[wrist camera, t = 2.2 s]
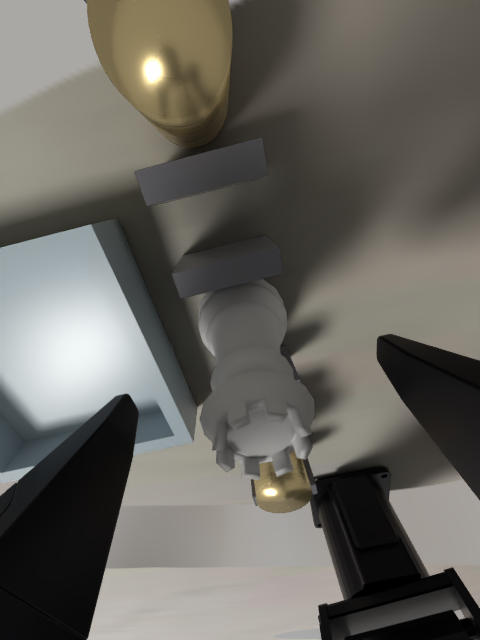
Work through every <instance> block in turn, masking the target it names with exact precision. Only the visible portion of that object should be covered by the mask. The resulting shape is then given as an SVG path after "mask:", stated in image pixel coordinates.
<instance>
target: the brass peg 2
mask: <svg viewBox="0 0 480 640" xmlns="http://www.w3.org/2000/svg"><path fill="white" fill-rule="evenodd" d="M290 458H291V462H292V466H293V471H290V472H288V473H286V474H283V475H281V476H279V477H277V475H276V473H275V471H274V466H273V461H272V462H266V463H259V467H260V480H255V479H254V483H255V492H256V501H257V504H258V506H259V507H260V508H262V509H263V510H265V511H268V512H272V513H287V512H292V511H295V510H297V509H300V508H302V507H303V506H305V505H306V504H307V503H308V502H309V501H310V500H311V498H312V489H311V485H310V482H309V479H308V476H307V472H306V469H305V466H304V462H303V459H301V458H297V457H296V453H295V450H294V451H293V452H292V453H291V454H290Z"/></svg>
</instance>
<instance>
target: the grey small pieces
mask: <svg viewBox="0 0 480 640" xmlns="http://www.w3.org/2000/svg"><path fill="white" fill-rule="evenodd" d="M84 1H85V2H86V3H87V0H84ZM134 172H135V175H136V178H137V181H138V183H139V186H140V189H141V192H142V194H143V197H144V200H145V203H146V205H147V206H151V205H156V204H161V203H166V202H170V201H174V200H178V199H182V198H186V197H190V196H193V195H197V194H201V193H205V192H209V191H213V190H217V189H221V188H224V187H228V186H232V185H236V184H240V183H244V182H248V181H251V180H255V179H258V178H261V177H264V176H266V175H268V170H267V164H266V157H265V151H264V144H263V138H262V137H261V138H257V139H253V140H250V141H246V142H242V143H238V144H234V145H231V146H227V147H223V148H219V149H216V150H212V151H208V152H204V153H201V154H197V155H193V156H189V157H186V158H182V159H178V160H174V161H171V162H167V163H163V164H159V165H155V166H152V167H148V168H144V169H140V170H137V171H134ZM281 274H283V267H282V261H281V254H280V248H279V246H278V245H276V244H275V243H274V242H273V241H272V240H271V239H270V238H269V237H268V236H267V235H263V236H259V237H255V238H251V239H247V240H243V241H239V242H235V243H231V244H227V245H223V246H219V247H215V248H211V249H207V250H203V251H199V252H195V253H191V254H187V255H183V256H182V257H181V259H180V261H179V262H178V264H177V266H176V267H175V269H174V270H173V272H172V277H173V280H174V282H175V285H176V288H177V291H178V293H179V296H180V299H181V298H185V297H189V296H194V295H198V294H202V293H206V292H210V291H214V290H218V289H223V288H227V287H231V286H235V285H239V284H243V283H248V282H252V281H256V280H260V279H264V278H268V277H273V276H277V275H281ZM280 353H281V355H282V356H283V357H285V358H286V359H287V361H288V362H289V364H290V365H291V367H292V368H293V376H294V379H295V380H296V381H298V382H300V379H299V376H298V374H297V372H296V369H295V367H294V364H293V362H292V360H291V357H290V355H289V352H288V350H287V348H286V345H284V346H280ZM303 462H304V466H305V469H306V472H307V476H308V479H309V482H310V485H311V489H312V495H313V494H317V488H316V483H315V480H314V477H313V474H312V470H311V467H310V464H309V461H308V458H307V459H306V460H305V459H303ZM251 486H252V495H253V500H254V502H255V505H256V506H258V504H257V501H256V492H255V483H254V479H251Z"/></svg>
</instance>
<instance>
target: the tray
mask: <svg viewBox="0 0 480 640" xmlns="http://www.w3.org/2000/svg"><path fill="white" fill-rule="evenodd" d="M126 393H127V394H129V395H130V396H131V398H132V400H133V401H134V403H135V405H136V407H137V408H138V411H139V418H138V425H137V432H136V439H135V446H134V453H133V455H136V454H141V453H146V452H150V451H155V450H160V449H164V448H169V447H174V446H178V445H183V444H188V443H193V441H194V433H195V424H196V415H197V406H196V404H195V401H194V399H193V397H192V394H191V392H190V389H189V387H188V385H187V382H186V380H185V378H184V375H183V373H182V370H181V368H180V366H179V363H178V361H177V359H176V356H175V354H174V351H173V349H172V347H171V344H170V342H169V340H168V337H167V335H166V332H165V330H164V328H163V325H162V323H161V321H160V318H159V316H158V313H157V311H156V309H155V306H154V304H153V302H152V299H151V297H150V294H149V292H148V290H147V287H146V285H145V283H144V280H143V278H142V275H141V273H140V271H139V268H138V266H137V264H136V261H135V259H134V256H133V254H132V252H131V249H130V247H129V244H128V242H127V240H126V237H125V235H124V233H123V230H122V228H121V225H120V223H119V221H118V218H115V219H111V220H107V221H103V222H98V223H94V224H90V225H86V226H83V227H79V228H75V229H71V230H67V231H63V232H59V233H55V234H52V235H48V236H44V237H40V238H36V239H32V240H28V241H24V242H21V243H17V244H13V245H9V246H5V247H1V248H0V484H1V483H6V482H10V481H15V480H20V479H21V478H22V477H23V476H24V475H25V474H26V473H28V472H29V471H30V470H31V469H32V468H33V467H35V466H36V465H37V464H38V463H39V462H40V461H41V460H43V459H44V458H45V457H46V456H47V455H48V454H50V453H51V452H52V451H53V450H54V449H55V448H56V447H58V446H59V445H60V444H61V443H62V442H63V441H64V440H66V439H67V438H68V437H69V436H70V435H71V434H73V433H74V432H75V431H76V430H77V429H78V428H79V427H81V426H82V425H83V424H84V423H85V422H86V421H88V420H89V419H90V418H91V417H92V416H93V415H94V414H96V413H97V412H98V411H99V410H100V409H101V408H102V407H104V406H105V405H106V404H107V403H108V402H109V401H111V400H112V399H113V398H114V397H115V396H117V395H121V394H126Z"/></svg>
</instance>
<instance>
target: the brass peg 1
mask: <svg viewBox="0 0 480 640" xmlns="http://www.w3.org/2000/svg"><path fill="white" fill-rule="evenodd" d="M87 13H88V22H89V28H90V33H91V37H92V41H93V44H94V47H95V50H96V53H97V55H98V57H99V60H100V63H101V64H102V66H103V68H104V70H105V72H106V74H107V75H108V77H109V78H110V80H111V82H112V83H113V84H114V86H115V87H116V88H117V89H118V91H119V92H120V93H121V94H122V95H123V96H124V97H125V98H126V99H127V100H128V101H129V102H130V103H131V104H132V105H133V106H134V107H135V108H136V109H137V110H138V111H139V112H140V113H141V114H142V115H143V116H144V117H145V118H146V119H147V120H148V121H149V122H150V123H151V124H152V125H153V126H155V127H156V128H157V129H158V130H159V131H160V132H161V133H162V134H163V135H164V136H165V137H166V138H167V139H168V140H169V141H171V142H173V143H174V144H176V145H179V146H181V147H185V148H197V147H201V146H204V145H206V144H208V143H209V142H211V141H212V140H213V139H214V138H215V137H216V136H217V135H218V133H219V132H220V130H221V129H222V127H223V125H224V122H225V119H226V116H227V110H228V97H229V83H230V68H231V54H232V39H233V32H232V18H231V10H230V6H229V1H228V0H87Z"/></svg>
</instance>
